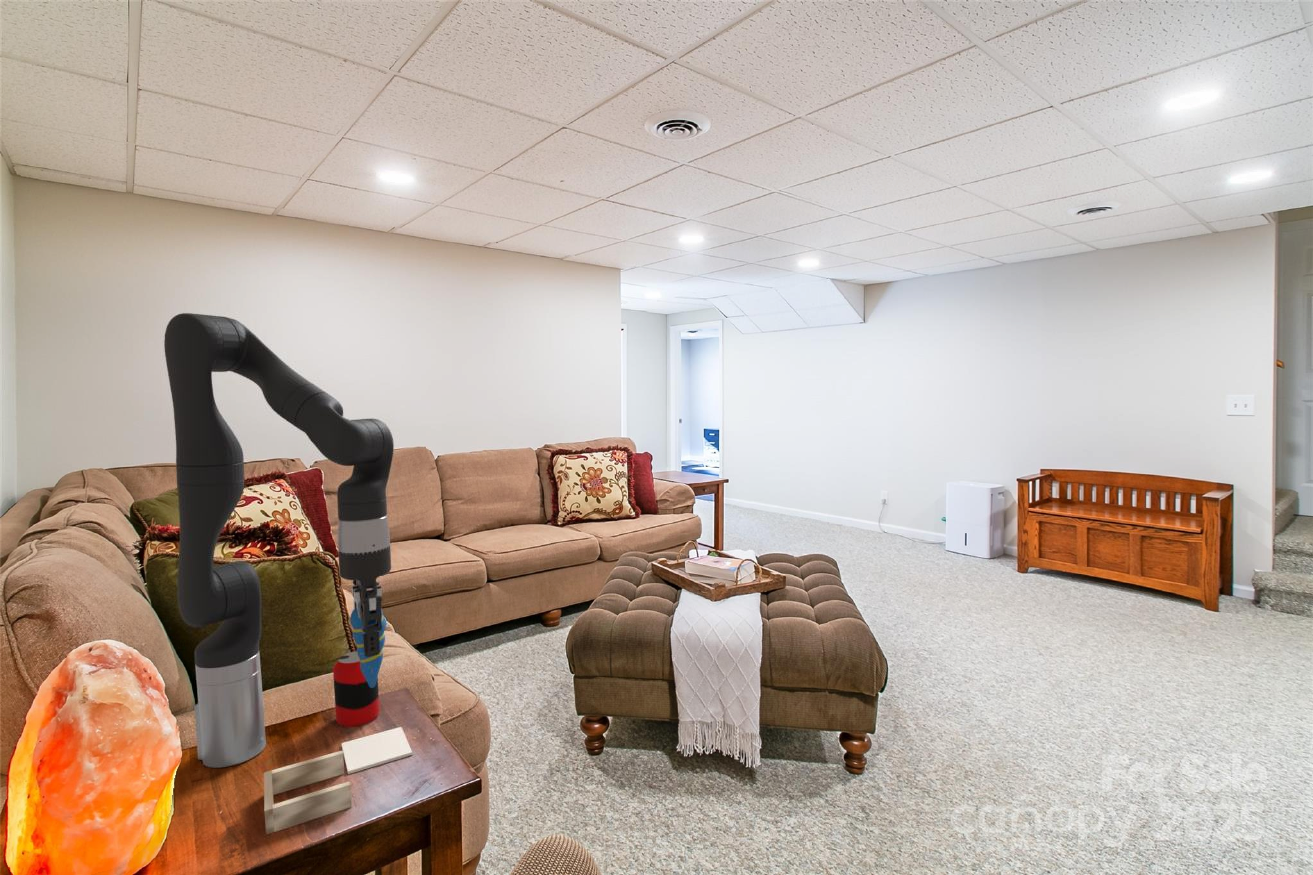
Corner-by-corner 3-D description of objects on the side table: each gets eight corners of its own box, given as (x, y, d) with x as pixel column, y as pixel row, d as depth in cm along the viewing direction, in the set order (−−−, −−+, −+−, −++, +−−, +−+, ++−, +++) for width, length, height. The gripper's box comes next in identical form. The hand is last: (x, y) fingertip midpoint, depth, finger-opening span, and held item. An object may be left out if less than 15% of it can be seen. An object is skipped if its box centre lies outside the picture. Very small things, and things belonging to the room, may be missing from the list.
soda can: (345, 709, 127) (341, 650, 126) (384, 706, 127) (381, 647, 126) (329, 729, 119) (325, 666, 118) (372, 726, 120) (368, 663, 119)
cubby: (266, 834, 91) (264, 811, 90) (265, 793, 100) (264, 772, 100) (351, 806, 96) (350, 784, 96) (343, 770, 106) (342, 750, 105)
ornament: (375, 696, 100) (370, 602, 99) (346, 693, 101) (341, 601, 100) (395, 681, 105) (391, 592, 104) (367, 678, 106) (363, 590, 105)
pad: (348, 774, 105) (347, 771, 105) (341, 745, 113) (341, 743, 113) (412, 754, 110) (412, 752, 110) (401, 729, 118) (401, 726, 118)
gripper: (397, 551, 97) (402, 659, 99) (382, 533, 110) (387, 630, 111) (342, 558, 93) (348, 671, 95) (333, 539, 106) (339, 639, 107)
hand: (369, 648), depth 103 cm, fingers closed on ornament, 5 cm apart
